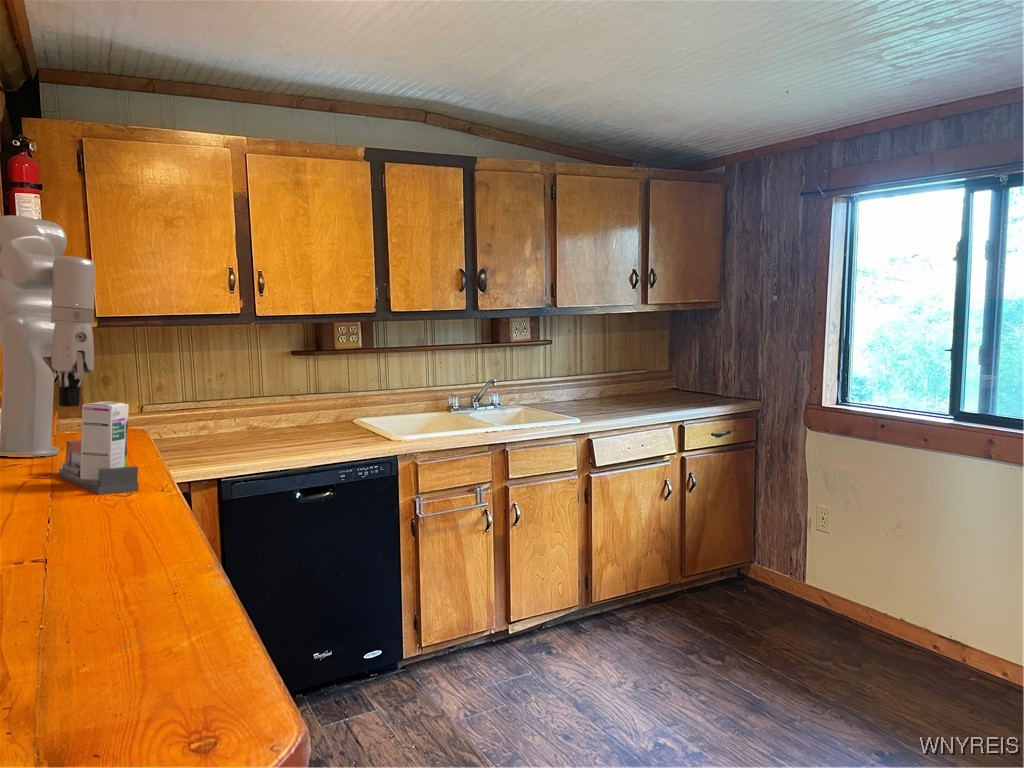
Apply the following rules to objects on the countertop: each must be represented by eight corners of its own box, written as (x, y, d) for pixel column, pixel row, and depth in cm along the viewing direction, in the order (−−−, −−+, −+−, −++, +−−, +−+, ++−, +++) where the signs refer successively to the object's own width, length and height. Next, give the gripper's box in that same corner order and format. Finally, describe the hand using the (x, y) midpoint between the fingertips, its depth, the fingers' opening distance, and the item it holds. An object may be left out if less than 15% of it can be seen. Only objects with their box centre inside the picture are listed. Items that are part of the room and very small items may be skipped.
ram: (65, 465, 142) (66, 440, 142) (83, 463, 145) (85, 439, 144) (83, 473, 136) (84, 447, 136) (102, 471, 139) (103, 446, 139)
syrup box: (109, 482, 131) (113, 405, 131) (78, 479, 132) (82, 402, 131) (126, 476, 137) (130, 403, 136) (96, 474, 137) (100, 400, 136)
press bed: (58, 476, 139) (59, 453, 139) (96, 472, 145) (97, 451, 145) (98, 494, 128) (99, 470, 127) (138, 490, 133) (139, 467, 133)
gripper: (107, 319, 143) (103, 409, 144) (78, 318, 152) (74, 402, 153) (66, 316, 137) (62, 410, 138) (38, 315, 146) (35, 403, 147)
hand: (69, 405), depth 145 cm, fingers closed
